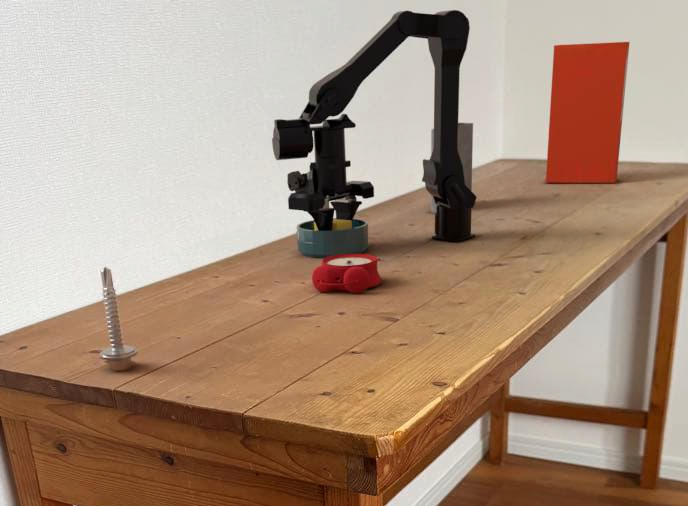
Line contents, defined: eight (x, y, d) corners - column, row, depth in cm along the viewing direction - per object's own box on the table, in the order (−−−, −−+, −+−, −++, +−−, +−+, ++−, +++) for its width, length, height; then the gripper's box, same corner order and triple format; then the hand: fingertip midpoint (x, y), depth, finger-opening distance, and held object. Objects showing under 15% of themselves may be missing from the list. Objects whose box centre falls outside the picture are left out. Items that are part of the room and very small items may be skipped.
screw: (95, 372, 122) (113, 361, 126) (128, 374, 120) (145, 363, 124) (77, 270, 116) (97, 262, 120) (113, 271, 114) (131, 262, 118)
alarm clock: (389, 254, 160) (365, 252, 146) (387, 292, 161) (364, 294, 148) (330, 253, 163) (302, 251, 149) (330, 291, 164) (301, 292, 151)
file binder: (549, 179, 253) (558, 44, 238) (616, 179, 247) (629, 41, 232) (545, 183, 246) (553, 45, 231) (614, 183, 241) (627, 42, 225)
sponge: (352, 247, 182) (351, 220, 179) (338, 251, 179) (337, 224, 177) (329, 244, 185) (328, 218, 183) (315, 248, 183) (313, 221, 180)
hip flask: (440, 213, 214) (441, 117, 205) (424, 212, 216) (425, 117, 207) (473, 202, 225) (475, 110, 216) (458, 201, 227) (460, 111, 218)
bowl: (382, 248, 183) (382, 221, 181) (336, 261, 174) (335, 233, 172) (330, 241, 191) (329, 215, 189) (284, 254, 183) (282, 227, 180)
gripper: (330, 149, 185) (334, 231, 193) (263, 160, 173) (270, 247, 181) (374, 150, 179) (376, 235, 186) (308, 162, 167) (313, 252, 174)
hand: (334, 242), depth 182 cm, fingers closed on sponge, 4 cm apart
